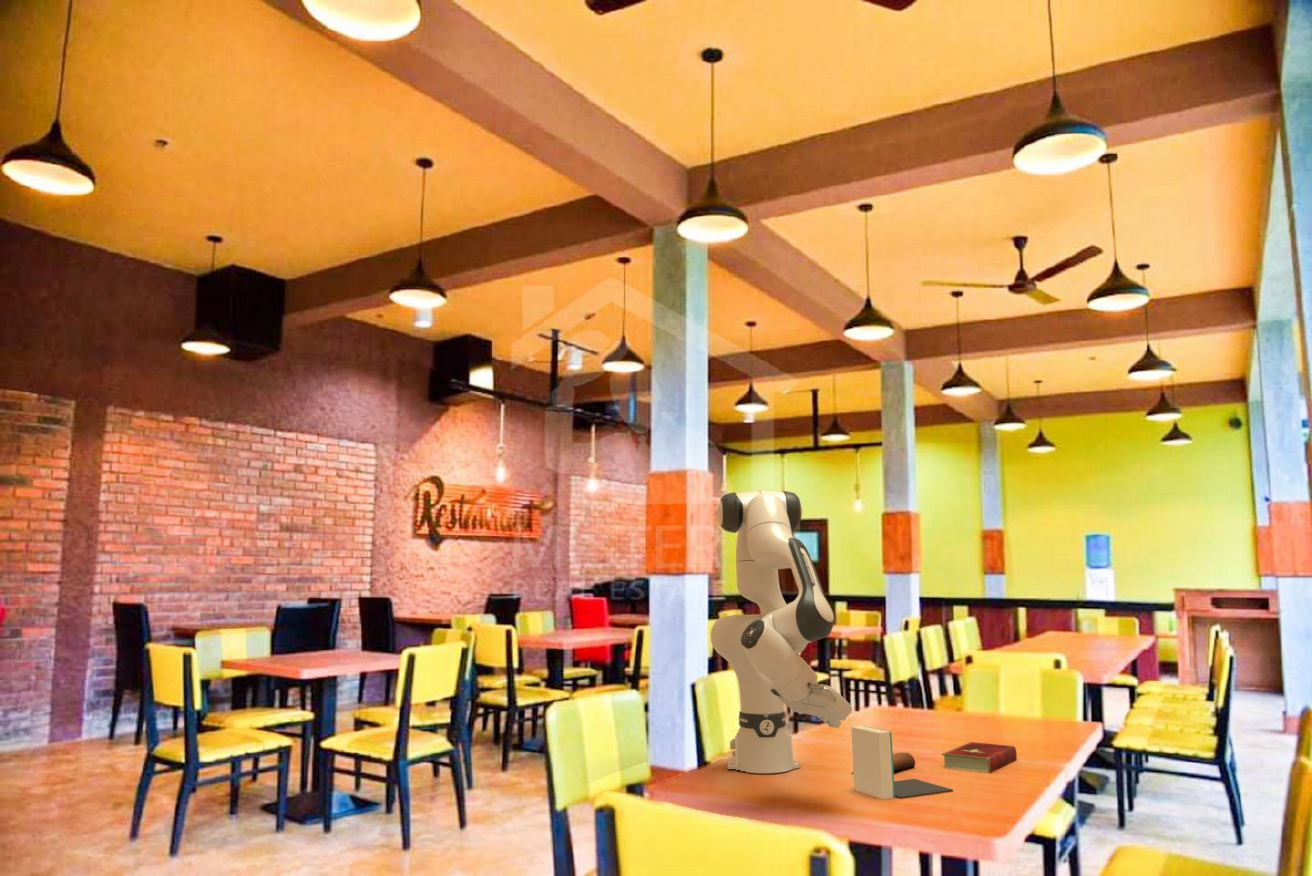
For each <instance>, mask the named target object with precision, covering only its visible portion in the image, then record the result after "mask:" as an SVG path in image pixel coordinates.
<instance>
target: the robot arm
mask: <svg viewBox="0 0 1312 876" xmlns="http://www.w3.org/2000/svg"><path fill="white" fill-rule="evenodd" d="M718 502H719V503H718V504H717V509H716V511H717V512H716V515H717V520H718V522H719V525H720V527H721V529H722V530H723V531H725V532H728V533H734V534H737V537H736V547H735V569H736V588H737V592H738V593H739V594H740V596H741V597H743V598H744V599H747V600H749V601H750V602H753V603H755V604H757V606H758V607H759V610H760V613H759V614H732V615H728V616H723V617H719V618H718V619H716V621H715V622H714V623H713V625H712V627H711V631H710V642H711V645H712V647H713V650H715V651H716V653H717V654H718V655H720V656H721V657H722V658H723V659H725V660H726V661H727V662H728V664H729V665H730V667H732V669H733V671H734V673H735V675H736V679H737V681H738V683H737V684H738V689H739V699H740V701H739V703H740V711H738V712H739V713H738V725H739V728H738V731H737V733H736V735H734V738H731V740H730V741H729V749H730V750H732V755H731V754H730V755H729V756H728V761H727V767H726V768H727V770H728V769H736V770H735V771H737V770H741V771H740V772H743V771H745V772H744V773H749V774H750V773H751V774H776V773H777V774H778V773H784V772H789V771H791V770H794V769H798V768H801V763H800V762H797V761H796V760H794V759H795V758H794V749H793V748H794V747H793V737H792V734H791V733H790V731H788V730H787V729H786V725H787V724H786V723H787V722H786V720H787V717H786V712H785V710H784V705H785V706H786V707H788V708H789V709H790V710H791V711H794V712H795V713H798V714H799V713H800V714H805V715H810V716H816V718H818V719H820V720H821V721H823V722H824V723H825V724H826V725H827V726H828V727H829V728H834V729H839V728H840V727H841V725H842V721H845V720H847V718H848V717H849V715H850V713H851V712H852V710H853V708H852V706H851V705H852V704H850V702H848V701H847V700H846V699H845V698H844V697H843V696H842V695H841V694H840V693H839V692H838V691H837V690H836V689H835V688H833V687H832V686H830V685H827V684H821V683H818V674H817V673H816V671H814V669H812V667H811V666H810V665H809V664H808V663H807V662H806V660H804V658H803V657H801V656H800V655H798V654H800V653H803V652H804V650H805V649H806V647H807V646H808V644H810V643H812V642H815V641H819V640H821V639H824V638H827V637H829V636H830V634H831V633H832V630H833V628H834V623H835V613H834V611H833V608H832V606H831V604H830V602H829V600H828V599H827V597H826V595H825V593H824V589H823V587H822V584H821V581H820V578H819V577H818V576H819V575H818V574H817V571H816V568H815V566H814V563H813V560H812V558H811V555H810V553H809V550H808V549H807V547H806V546H805V544H804V543H803V542H802V541H801V540H800V539H798V538H797V537H795V538H794V536H793V533H792V531H794V530H796V529H797V528H798V527H799V526H800V524H801V520H802V519H803V518H802V517H803V507H802V506H803V505H802V503H801V501H800V498H799V495H797V494H796V493H795V492H792V491H788V490H787V491H786V490H783V491H777V490H756V491H753V490H752V491H743V492H730V493H725V494H723V495H722V496H721V498H720V500H719V501H718ZM783 569H785V570H786V569H791V572H792V575H793V577H794V582H795V584H796V587H797V589H798V595H797V596H796V598H795V599H794V600H793V601H791V602H789V603H786V601H785V599H784V597H783V594H782V591H781V587H780V579H779V578H780V577H779V570H783Z"/></svg>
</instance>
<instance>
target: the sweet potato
mask: <svg viewBox="0 0 1312 876" xmlns="http://www.w3.org/2000/svg"><path fill="white" fill-rule="evenodd" d="M915 766H916V760H915V758H914V756H913V755H912V754H911V753H908V752H895V753H894V752H893V769H894V772H896V771H899V770H901V769H906V768H915ZM851 774H852V775H853V774H854V773H853V771H852V772H851Z"/></svg>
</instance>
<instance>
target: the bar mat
mask: <svg viewBox="0 0 1312 876" xmlns="http://www.w3.org/2000/svg"><path fill="white" fill-rule="evenodd" d="M894 788H895V798H897V799H900V800H901V799H908V798H915V797H923V796H929V795H935V794H936V795H937V794H944V793H943V792H945V793H950V792H949V791H952V792H954V789H952V788H949V787H945V786H942V785H937V784H935V783H931V782H927V781H923V780H920V779H918V778H917V779H916V778H910V779H903V780H894Z"/></svg>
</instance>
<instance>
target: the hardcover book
mask: <svg viewBox="0 0 1312 876" xmlns="http://www.w3.org/2000/svg"><path fill="white" fill-rule="evenodd" d="M941 755H942V756H943V757H944V758H943V759H944V768H946V769H952V770H960V769H964V770H963V771H969V770H972V771H971V772H977V771H982V772H981V773H986V772H988V773H987V774H991V773H993V772H995V771H997V770H999V769H1001V768H1003V767H1005V766H1007V765H1009V764H1011V763H1013V762H1015V761H1016V760H1017V755H1018V754H1017V749H1016V746H1015V745H1008V744H998V743H987V742H986V743H985V742H977V741H970V742H967V743H965V744H962V745H960V746H958V747H955V748H953V749H950V750H948V751H945V752H943V753H941ZM996 769H997V770H996ZM994 770H995V771H994ZM992 771H993V772H992ZM990 772H991V773H990Z"/></svg>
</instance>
